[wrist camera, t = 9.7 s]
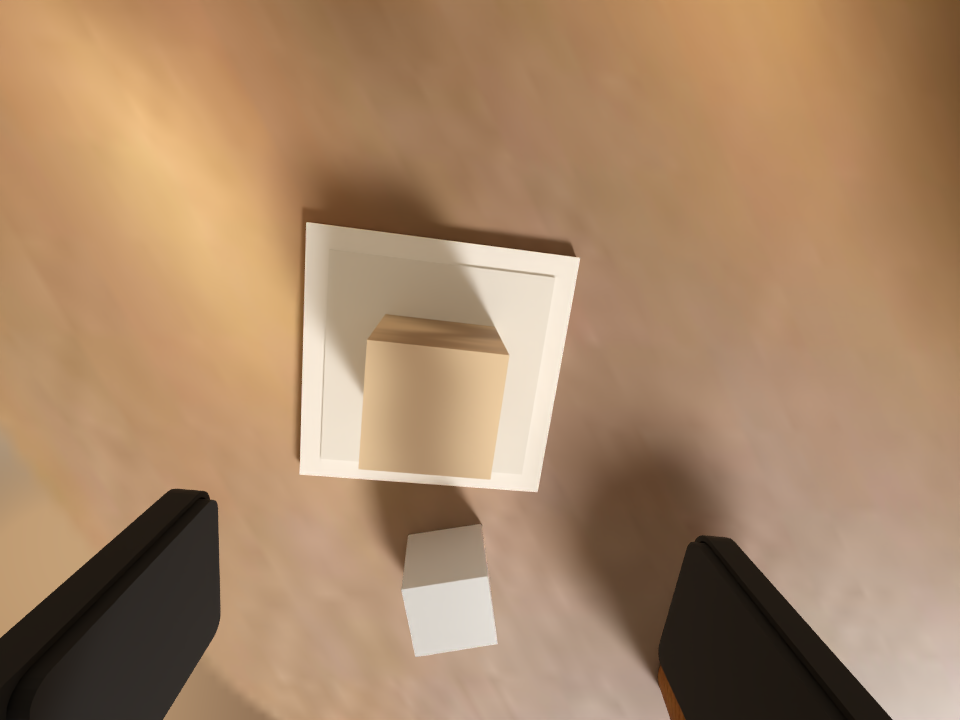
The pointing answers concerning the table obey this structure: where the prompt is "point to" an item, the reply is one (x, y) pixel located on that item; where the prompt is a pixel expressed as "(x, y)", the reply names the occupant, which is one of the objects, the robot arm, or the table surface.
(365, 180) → the table surface
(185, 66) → the table surface
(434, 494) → the table surface
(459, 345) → the oak cube
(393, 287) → the tray
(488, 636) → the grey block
